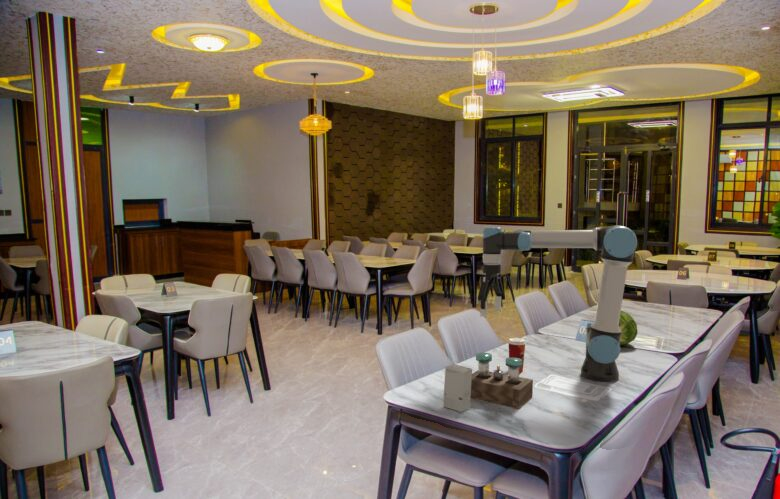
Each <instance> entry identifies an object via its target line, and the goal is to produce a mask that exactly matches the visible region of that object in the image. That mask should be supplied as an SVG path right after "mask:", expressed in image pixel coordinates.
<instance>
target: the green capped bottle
mask: <svg viewBox="0 0 780 499" xmlns="http://www.w3.org/2000/svg"><path fill="white" fill-rule="evenodd" d="M505 366H506V367H507V375H508V384H514V385H518V384H519V377H520V373H519V367H521V366H522V359H520V358H513V357H511V358H509V357H506V358H505Z"/></svg>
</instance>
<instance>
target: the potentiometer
mask: <svg viewBox="0 0 780 499" xmlns="http://www.w3.org/2000/svg"><path fill="white" fill-rule="evenodd" d="M500 367H501V366H500V365H497V366H496V370H495V369H494V370H493V371H492V372H493V379H494V380H496V381H502V380H503V374H504V370H501V368H500Z"/></svg>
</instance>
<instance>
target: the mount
mask: <svg viewBox="0 0 780 499" xmlns="http://www.w3.org/2000/svg"><path fill="white" fill-rule="evenodd" d="M493 372H494V371H489V378H488V379H483V378H478V370H476V371H474V372H472V380H471V397H470V400H476V401H479V402H485V403H489V404H494V405H498V406H504V407H508V408H511V409H512V408H513V409H516V410H521V408H522V407H523V406H525V405H526V404H527V403H529V401H530V400H531V399H533V396H534V395H533V390H534V387H533V386H534V385H533V384H534V380H533V379H534V378H533V379H532V378H528V377H527V378H525V377H521V376H519V384H518V385H514V384H508V374H506V373H503V380H502V381H496V380H494V379H493Z"/></svg>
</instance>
